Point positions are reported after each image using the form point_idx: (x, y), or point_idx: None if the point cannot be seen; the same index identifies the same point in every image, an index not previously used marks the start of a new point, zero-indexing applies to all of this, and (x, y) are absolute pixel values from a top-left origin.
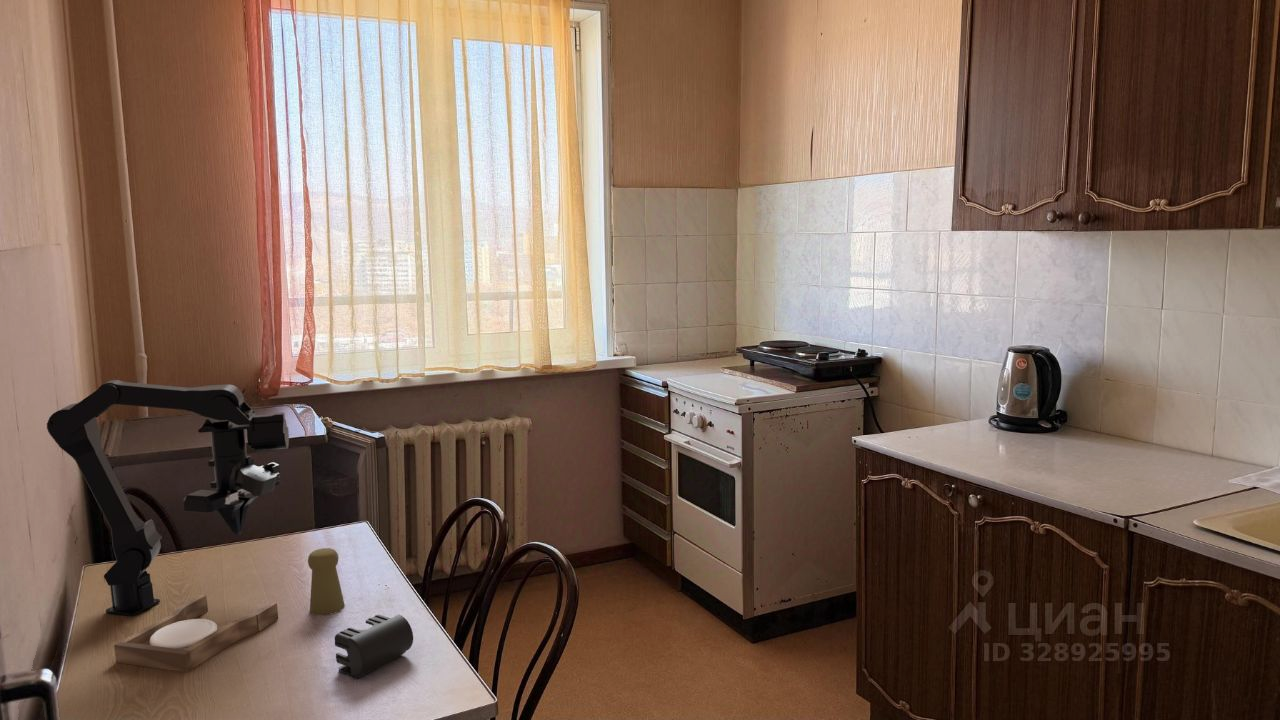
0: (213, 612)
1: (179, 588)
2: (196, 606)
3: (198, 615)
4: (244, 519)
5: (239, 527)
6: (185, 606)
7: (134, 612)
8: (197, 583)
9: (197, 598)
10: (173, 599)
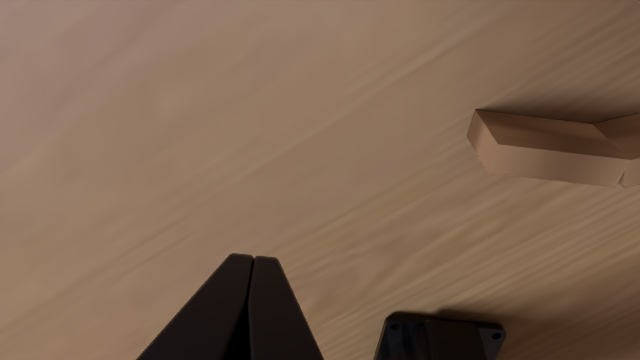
0: (490, 77)
1: None
2: (553, 139)
3: (529, 118)
4: (160, 345)
5: (263, 299)
6: (630, 159)
7: (497, 331)
8: None
9: (534, 162)
10: (357, 291)
